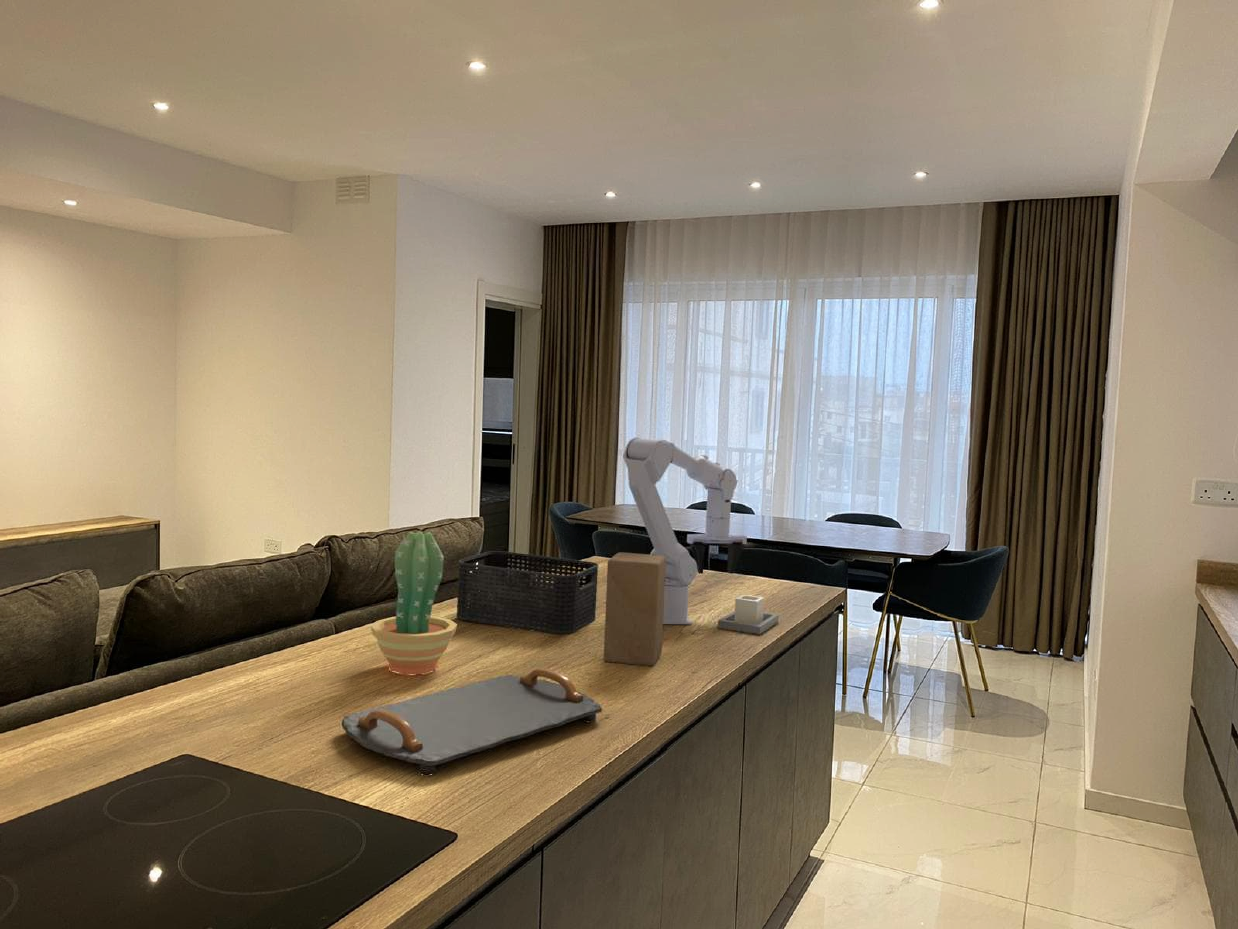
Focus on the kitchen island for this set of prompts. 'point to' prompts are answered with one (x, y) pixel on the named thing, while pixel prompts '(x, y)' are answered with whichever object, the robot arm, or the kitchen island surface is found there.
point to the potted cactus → (415, 609)
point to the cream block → (749, 609)
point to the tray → (729, 624)
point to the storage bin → (527, 592)
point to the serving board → (469, 718)
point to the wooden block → (634, 608)
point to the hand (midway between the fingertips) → (715, 572)
